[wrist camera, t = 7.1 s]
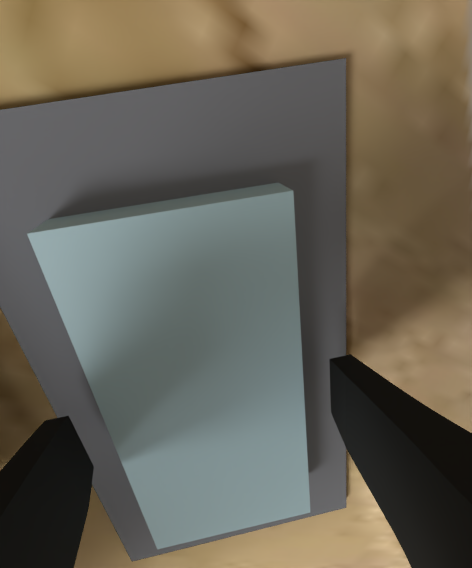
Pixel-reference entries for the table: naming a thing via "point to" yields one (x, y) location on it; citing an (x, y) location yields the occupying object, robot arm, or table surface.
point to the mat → (172, 185)
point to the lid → (191, 352)
